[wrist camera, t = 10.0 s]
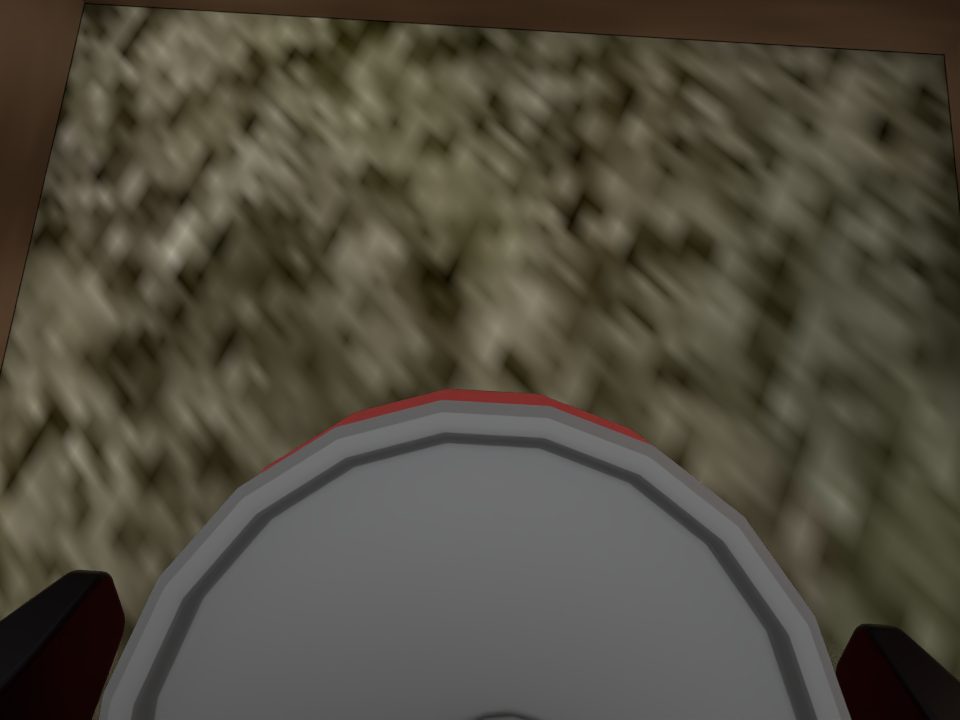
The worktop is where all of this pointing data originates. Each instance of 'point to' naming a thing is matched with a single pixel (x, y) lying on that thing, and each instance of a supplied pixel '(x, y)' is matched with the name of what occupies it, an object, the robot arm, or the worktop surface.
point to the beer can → (475, 584)
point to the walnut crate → (486, 3)
